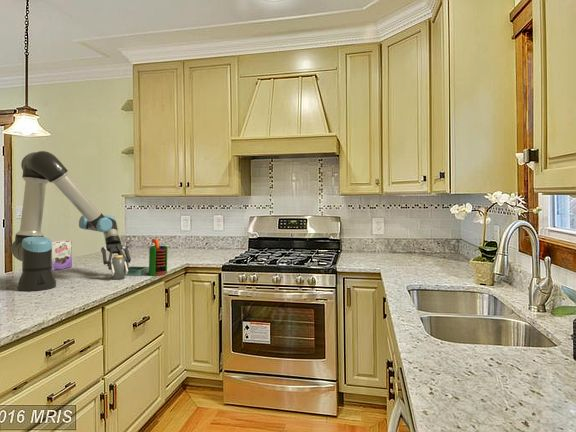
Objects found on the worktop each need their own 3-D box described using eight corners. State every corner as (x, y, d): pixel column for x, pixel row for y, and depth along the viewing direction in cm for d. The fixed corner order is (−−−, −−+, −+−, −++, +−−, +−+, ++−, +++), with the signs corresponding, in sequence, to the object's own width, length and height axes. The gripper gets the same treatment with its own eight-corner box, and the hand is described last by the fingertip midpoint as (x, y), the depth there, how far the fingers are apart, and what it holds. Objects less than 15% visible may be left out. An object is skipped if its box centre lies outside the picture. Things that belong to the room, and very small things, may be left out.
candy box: (51, 271, 219) (50, 242, 218) (43, 270, 221) (43, 242, 220) (72, 267, 232) (72, 240, 231) (65, 266, 234) (64, 239, 233)
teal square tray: (142, 276, 211) (142, 270, 211) (121, 275, 211) (121, 269, 211) (150, 272, 222) (150, 266, 222) (130, 271, 222) (130, 266, 222)
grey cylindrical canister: (121, 279, 200) (121, 256, 199) (109, 279, 200) (110, 256, 199) (126, 277, 206) (126, 255, 205) (115, 277, 206) (115, 254, 205)
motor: (159, 276, 210) (160, 240, 209) (145, 275, 212) (145, 239, 211) (169, 273, 220) (169, 238, 219) (155, 272, 222) (155, 238, 221)
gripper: (129, 242, 220) (137, 275, 208) (92, 244, 208) (99, 279, 196) (131, 234, 216) (140, 267, 203) (94, 235, 204) (101, 270, 192)
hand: (120, 273), depth 200 cm, fingers closed on grey cylindrical canister, 6 cm apart
